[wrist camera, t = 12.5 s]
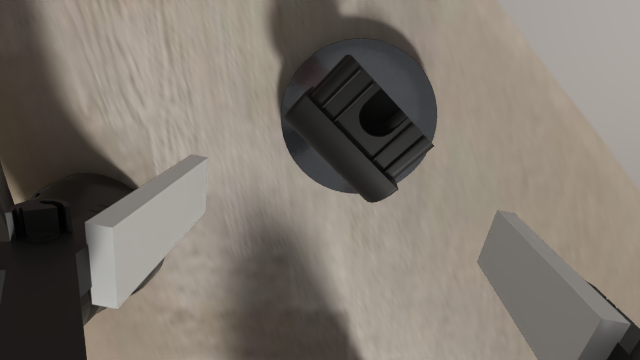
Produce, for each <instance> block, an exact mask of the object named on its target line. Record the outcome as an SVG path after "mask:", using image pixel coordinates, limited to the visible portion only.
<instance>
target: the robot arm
mask: <svg viewBox="0 0 640 360" xmlns="http://www.w3.org/2000/svg"><path fill="white" fill-rule="evenodd" d="M207 169H208V157H202V156H197V155H190V156H188V157H187V158H185V159H184V160H182V161H180V162H179V163H177V164H176V165H174V166H173V167H171V168H169V169H168V170H166V171H165V172H163V173H162V174H160V175H158V176H157V177H155V178H154V179H152V180H151V181H149V182H147V183H146V184H144V185H143V186H141V187H140V188H138V189H137V190H135V191H133V190H132V189H131V188H129V187H127V186H126V185H124V184H122V183H120V182H118V181H116V180H114V179H111V178H108V177H105V176H101V175H96V174H75V175H71V176H68V177H65V178H63V179H60V180H58V181H56V182H53V183H51V184H49V185H47V186H45V187H44V188H42V189H41V190H39V191H38V192H37V193H36V194H35V195H34V196H33V197H32V198H31V199H30V200H29V201H25V202H22V203H18V204H16V205H15V204H14V202H13V199H12V196H11V193H10V190H9V187H8V184H7V181H6V178H5V175H4V171H3V168H2V165H1V162H0V360H87V356H86V346H85V337H84V328H83V326H84V325H85V324H86V323H87V322H88V321H89V320H90V319H91V318H92V317H93V316H94V315H95V314H97V313H99V312H100V311H102V310H104V309H106V308H107V307H109V308H115V309H118V308H119V307H120V306H121V305H122V303H123V302H124V301H125V300H126V299H127V298H128V297H129V296H131V295H133V294H135V293H136V292H138V291H139V290H141V289H142V288H143V287H144V286H145V285H146V284H147V283H148V282H149V281H150V280H151V279H152V278H153V277H154V275H155V274H156V273H157V272H158V271H159V269H160V267H161V265H162V263H163V261H164V257H165V256H166V255H167V254H168V253H169V252H170V250H171V249H172V248H173V247H174V246H175V245H176V244H177V243H178V242H179V241H180V239H181V238H182V237H183V236H184V235H185V234H186V233H187V232H188V231H189V230H190V228H191V227H192V226H193V225H194V224H195V223H196V222H197V221H198V220H199V218H200V217H201V216H202V215H203V214H204V213H205V210H206V190H207ZM477 263H478V264H479V266H480V268H481V269H482V271H483V272H484V274H485V276H486V277H487V279H488V280H489V282H490V284H491V285H492V287H493V288H494V290H495V292H496V293H497V295H498V296H499V298H500V300H501V301H502V303H503V304H504V306H505V308H506V309H507V311H508V312H509V314H510V316H511V317H512V319H513V320H514V322H515V324H516V325H517V327H518V328H519V330H520V332H521V333H522V335H523V336H524V338H525V340H526V341H527V343H528V344H529V346H530V348H531V349H532V351H533V352H534V354H535V356H536V357H537V359H538V360H640V328H638V327H637V326H636V325H635V324H634V323H633V322H632V321H631V320H630V319H629V318H628V317H627V316H626V315H625V314H624V313H622V312H621V311H620V310H619V309H618V308H616V306H615V305H614V304H613V303H612V302H611V301H610V300H609V299H606V297H605V296H604V295H603V294H602V293H601V292H600V291H599V290H598V289H597V288H596V287H595V286H593V285H592V284H590V283H589V282H587V281H586V280H584V279H583V278H582V277H581V276H580V275H579V274H578V273H577V272H576V271H575V270H574V269H572V268H571V267H570V266H569V265H568V264H567V263H566V262H565V261H564V260H563V259H562V258H561V257H560V256H559V255H558V254H557V253H556V252H555V251H554V250H553V249H551V248H550V247H549V246H548V245H547V244H546V243H545V242H544V241H543V240H542V239H541V238H540V237H539V236H538V235H537V234H536V233H535V232H534V231H533V230H531V229H530V228H529V227H528V226H527V225H526V224H525V223H524V222H523V221H522V220H521V219H520V218H519V217H518V216H517V215H516V214H515V213H510V212H505V211H499V210H497V212H496V215H495V217H494V220H493V222H492V225H491V228H490V230H489V233H488V235H487V238H486V240H485V243H484V246H483V248H482V251H481V253H480V256H479V258H478V261H477Z"/></svg>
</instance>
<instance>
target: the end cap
mask: <svg viewBox="0 0 640 360" xmlns="http://www.w3.org/2000/svg"><path fill="white" fill-rule="evenodd" d="M283 118H284V120H285V121H286V122H287V123H288V124H289V125H290V126H291V127H292V128H293V129H294V130H295V131H296V132H297V133H298V134H299V135H300V136H301V137H302V138H303V139H304V140H305V141H306V142H307V143H308V144H309V145H310V146H311V147H312V148H313V149H314V150H315V151H316V152H317V153H318V154H319V155H320V156H321V157H322V158H323V159H324V160H325V161H326V162H327V163H328V164H329V165H330V166H331V167H332V168H333V169H334V170H335V171H336V172H338V173H339V174H340V175H341V176H342V177H343V178H344V179H345V180H346V181H347V182H348V183H349V184H350V185H351V186H352V187H353V188H354V189H355V190H356V191H357V192H358V193H359V194H360V195H361V196H362V197H363V198H364V199H365V200H366V201H367V202H371V203H373V202H378V201H381V200H383V199H385V198H387V197H388V196H390V195H391V194H393V193H394V192H395V191H397V190H398V187H397V184H396V181H395V178H397V177H398V176H399V175H400V174H401V173H403V172H404V171H405V170H406V169H407V168H409V167H410V166H411V165H412V164H413V163H415V162H416V161H417V160H418V159H419V158H421V157H422V156H423V155H424V154H425V153H426V152H428V151H429V150H430V149H431V148H432V147H434V145H433V144H432V143H431V142H430V140H429V139H428V138H427V137H426V136H425V135H424V134H423V133H422V132H421V131H420V129H419V128H418V127H417V126H416V125H415V124H414V123H413V122H412V121H411V120H410V119H409V117H408V116H407V115H406V114H405V113H404V112H403V111H402V110H401V109H400V108H399V107H398V105H397V104H396V103H395V102H394V101H393V100H392V99H391V98H390V97H389V96H388V95H387V93H386V92H385V91H384V90H383V89H382V88H381V87H380V86H379V85H378V84H377V83H376V81H375V80H374V79H373V78H372V77H371V76H370V75H369V74H368V73H367V72H366V71H365V69H364V68H363V67H362V66H361V65H360V64H359V63H358V62H357V61H356V60H355V59H354V57H353V56H352V55H345V56H344V57H343V58H342V59H341V60H340V61H339V62H338V64H337V65H336V66H335V67H334V68H333V69H332V70H331V71H330V72H329V73H328V74H327V75H326V76H325V77H324V78H323V79H322V80H321V81H320V82H319V83H318V84H317V85H316V86H315V87H314V86H312V87H311V88H310V89H308V90H307V91H306V92H304V93H303V94H302V96H301V97H300V98H299V99H298V100H297V101H296V102H295V103H294V104H293V105H292V106H291V107H290V108H289V109H288V111H287V112H286V113H285V114H284V116H283Z"/></svg>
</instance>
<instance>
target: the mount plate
mask: <svg viewBox="0 0 640 360" xmlns="http://www.w3.org/2000/svg"><path fill="white" fill-rule="evenodd" d="M345 55H352V56H353V57H354V59H355V60H356V61H357V62H358V63H359V64H360V65H361V66H362V67H363V68H364V69H365V71H366V72H367V73H368V74H369V75H370V76H371V77H372V78H373V79H374V80H375V81H376V83H377V84H378V85H379V86H380V87H381V88H382V89H383V90H384V91H385V92H386V93H387V95H388V96H389V97H390V98H391V99H392V100H393V101H394V102H395V103H396V104H397V105H398V107H399V108H400V109H401V110H402V111H403V112H404V113H405V114H406V115H407V116H408V117H409V119H410V120H411V121H412V122H413V123H414V124H415V125H416V126H417V127H418V128H419V129H420V131H421V132H422V133H423V134H424V135H425V136H426V137H427V138H428V139H429V140H430V142H431V143H432V140H433V138H434V134H435V130H436V123H437V105H436V99H435V95H434V91H433V88H432V86H431V83H430V81H429V79H428V77H427V76H426V74H425V73H424V71H423V70H422V68H421V67H420V66H419V65H418V63H417V62H416V61H415V60H414V59H413V58H411V57H410V56H409V55H408V54H407V53H405V52H404V51H402V50H400V49H399V48H397V47H395V46H393V45H391V44H388V43H386V42H382V41H378V40H373V39H349V40H343V41H340V42H336V43H333V44H331V45H329V46H326V47H324V48H322V49H321V50H319V51H318V52H316V53H314V54H313V55H312V56H311V57H309V58H308V59H307V60H306V61H305V62H304V63H303V64H302V65H301V66H300V67H299V69H298V70H297V71H296V73H295V74H294V76H293V77H292V79H291V81H290V83H289V85H288V87H287V89H286V92H285V95H284V99H283V104H282V111H281V126H282V132H283V137H284V140H285V143H286V146H287V148H288V150H289V153H290V155H291V156H292V158H293V159H294V161H295V163H296V164H297V165H298V166H299V167H300V169H301V170H302V171H303V172H304V173H305V174H307V175H308V176H309V177H310V178H312V179H313V180H314V181H316V182H317V183H319V184H321V185H323V186H325V187H327V188H330V189H332V190H336V191H339V192H344V193H355V194H359V193H358V192H357V191H356V190H355V189H354V188H353V187H352V186H351V185H350V184H349V183H348V182H347V181H346V180H345V179H344V178H343V177H342V176H341V175H340V174H339V173H338V172H336V171H335V170H334V169H333V168H332V167H331V166H330V165H329V164H328V163H327V162H326V161H325V160H324V159H323V158H322V157H321V156H320V155H319V154H318V153H317V152H316V151H315V150H314V149H313V148H312V147H311V146H310V145H309V144H308V143H307V142H306V141H305V140H304V139H303V138H302V137H301V136H300V135H299V134H298V133H297V132H296V131H295V130H294V129H293V128H292V127H291V126H290V125H289V124H288V123H287V122H286V121H285V120H284V118H283V116H284V114H285V113H286V112H287V111H288V109H289V108H290V107H291V106H292V105H293V104H294V103H295V102H296V101H297V100H298V99H299V98H300V97H301V96H302V94H303V93H304V92H306V91H307V90H308V89H310V88H311V87H312V86H314V87H315V86H316V85H317V84H318V83H319V82H320V81H321V80H322V79H323V78H324V77H325V76H326V75H327V74H328V73H329V72H330V71H331V70H332V69H333V68H334V67H335V66H336V65H337V64H338V62H339V61H340V60H341V59H342V58H343V57H344V56H345ZM426 153H427V152H426ZM426 153H425V154H424V155H423V156H422V157H421V158H419V159H418V160H417V161H416V162H415V163H413V164H412V165H411V166H410V167H409V168H407V169H406V170H405V171H404V172H403V173H401V174H400V175H399V176H398V177H397V178H395V181H396V183H398V182H399V181H401V180H402V179H404V178H405V177H407V176H408V175H409V174H410V173H411V172H412V171H413V170H414V169H415V168H416V167H417V166H418V165H419V164H420V162H421V161H422V160H423V158H424V157H425V155H426Z"/></svg>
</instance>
